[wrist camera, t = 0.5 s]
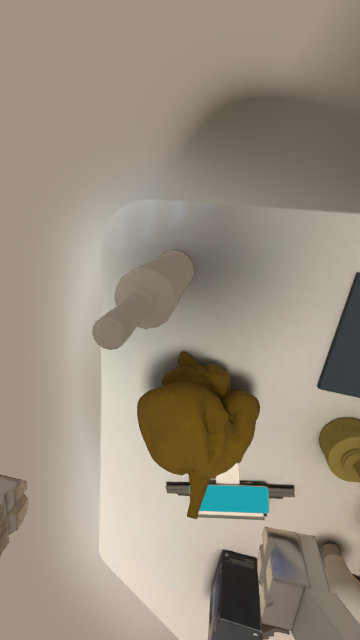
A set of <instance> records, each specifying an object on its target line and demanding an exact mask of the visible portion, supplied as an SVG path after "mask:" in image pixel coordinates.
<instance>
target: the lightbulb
mask: <svg viewBox="0 0 360 640" xmlns="http://www.w3.org/2000/svg"><path fill="white" fill-rule="evenodd" d="M322 552H323V557H324V567H325V574H326V578H327V582H328V585H329V589H330V593H334V594H336V595H337V596H338V597H339V599H340V600H341V601H342V602H343V604H344V605H345V606H346V607H347V609H348V610H349V611H350V613H351V614H352V615H353V616H354V618H355V619H356V620H357V621H358V623H359V624H360V582H359V581H358V580H357V579H356V578H355V577H354V576H353V575H352V574H351V572H350V571H349V569H348V567H347V565H346V563H345V561H344V559H343V558H342V556H341V554H340V551H339V549H338V547H337V546H336V545H334V544H330V543H328V544H325V545H324V546H323V548H322Z"/></svg>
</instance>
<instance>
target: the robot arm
mask: <svg viewBox="0 0 360 640" xmlns="http://www.w3.org/2000/svg"><path fill="white" fill-rule="evenodd" d="M26 490H27V483H26V481H24V480H21V479H16V478H11V477H7V476H3V475H0V555H1V554H2V552H3V551H4V549H5V548H6V546H7V545H8V543H9V535H10V534H11V533H13V532H14V531H16V530H18V528H19V527H20V526H21V524H22V522H23V521H24V518H25V516H26V513H27V510H28V498H27V497H26V495H25V494H24V492H25V491H26ZM262 538H263V544H262V545H260V548H259V553H258V581H259V583H260V584H261V586H262V589H261V593H260V609H261V621H262V623H263V624H267V625H271V626H275V627H279V628H283V629H286V630H290V631H292V632H291V633H292V635H293V637H294V638H295V640H360V624H359V623H358V621H357V620H356V619H355V618H354V616H353V615H352V614H351V613H350V611H349V610H348V609H347V607H346V606H345V605H344V604H343V602H342V601H341V600H340V599H339V597H338V596H337V595H336V594H334V593H330V589H329V585H328V582H327V578H326V574H325V571H324V567H323V563H322V560H321V556H320V552H319V549H318V545H317V541H316V539H315V537H314V536H310V535H305V534H300V533H296V532H290V531H285V530H279V529H274V528H268V527H265V528H264V530H263V534H262Z"/></svg>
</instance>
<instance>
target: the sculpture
mask: <svg viewBox="0 0 360 640" xmlns="http://www.w3.org/2000/svg"><path fill="white" fill-rule="evenodd" d="M320 445H321V448H322V450H323V453H324V455H325V458H326V460H327V463H328V465H329V468H330V470H331V471H332V472H333V473H334V474H335V475H336V476H337V477H339V478H341V479H343V480H346V481H350V482H360V421H359V420H357V419H353V418H341V419H337V420H334V421H332V422H331V423H329V424H328V425H326V426H325V428H324V429H323V430H322V432H321V434H320Z"/></svg>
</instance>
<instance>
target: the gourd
mask: <svg viewBox="0 0 360 640" xmlns="http://www.w3.org/2000/svg"><path fill="white" fill-rule="evenodd" d="M179 357H180V358H179V360H178V368H177V369H174V370H171V371H170V372H168V373H166V374H165V375H164V377H163V379H162V387H159V388H156V389H153V390H150V391H148V392H147V393H145V394H144V395H143V396H142V397H141V398H140V399H139V401H138V406H137V416H138V422H139V427H140V431H141V434H142V436H143V439H144V441H145V443H146V446H147V448H148V451H149V453H150V455H151V457H152V458H153V460H154V461H155V462H156V463H157V464H158V465H159V466H160V467H162V468H163V469H165V470H167V471H169V472H171V473H173V474H178V475H184V474H186V473H188V474H189V480H190V505H189V509H188V513H187V517H190V518H194V519H197V516H198V513H199V509H200V506H201V503H202V501H203V498H204V496H205V493H206V490H207V487H208V485H209V482H210V479H211V478H216V476H218V475H219V474H222V473H225V472H227V471H228V470H229V469H231V468H232V467H233V466H234V465H235V464H236V463H240V462H241V460H242V457H243V455H244V453H245V452H246V450H247V448H248V446H249V445H250V444H251V441H252V439H253V436H254V431H255V424H256V420H257V418H258V415H259V412H260V404H259V401H258V399H257V398H256V397H255V396H253V395H251V394H249V393H247V392H244V391H234V392H231V387H230V377H229V374H228V373H227V372H226V371H225V370H224V369H222V368H220V367H218V366H216V365H214V364H209V365H205V366H200V365H198V363H197V362H196V361H195V360H194V359H193V358H192V357H191V356H190V355H189V354H187V353H186V352H181V354H180V355H179Z"/></svg>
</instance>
